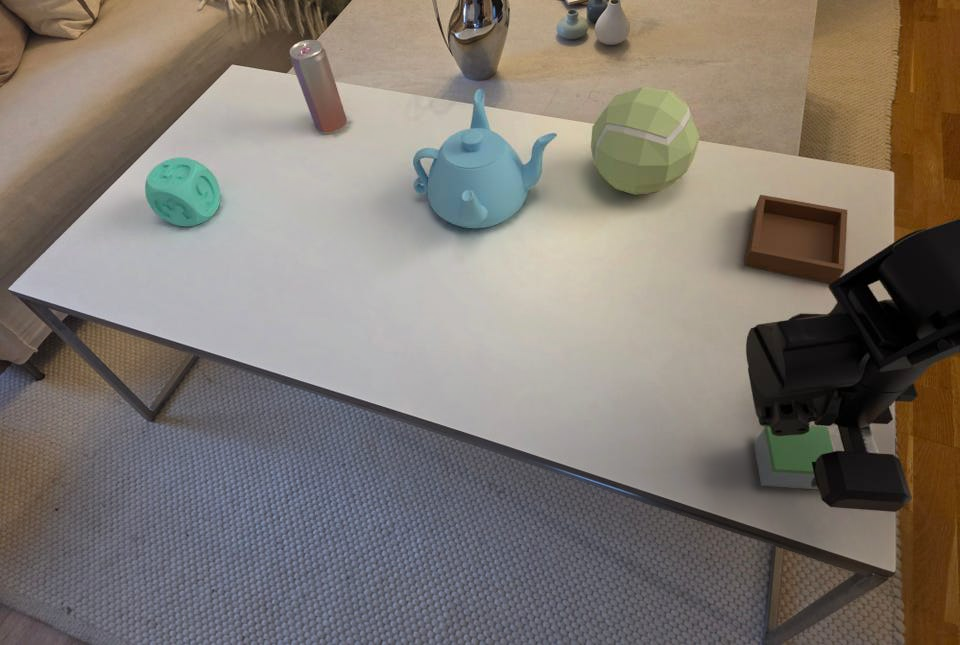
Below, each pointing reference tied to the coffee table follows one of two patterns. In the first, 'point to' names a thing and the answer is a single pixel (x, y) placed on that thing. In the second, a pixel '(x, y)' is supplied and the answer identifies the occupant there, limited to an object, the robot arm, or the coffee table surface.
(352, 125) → the coffee table surface
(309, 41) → the beverage can
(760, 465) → the container
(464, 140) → the teapot
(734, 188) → the coffee table surface
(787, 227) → the tray
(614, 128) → the tennis ball
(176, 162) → the decorative dice
